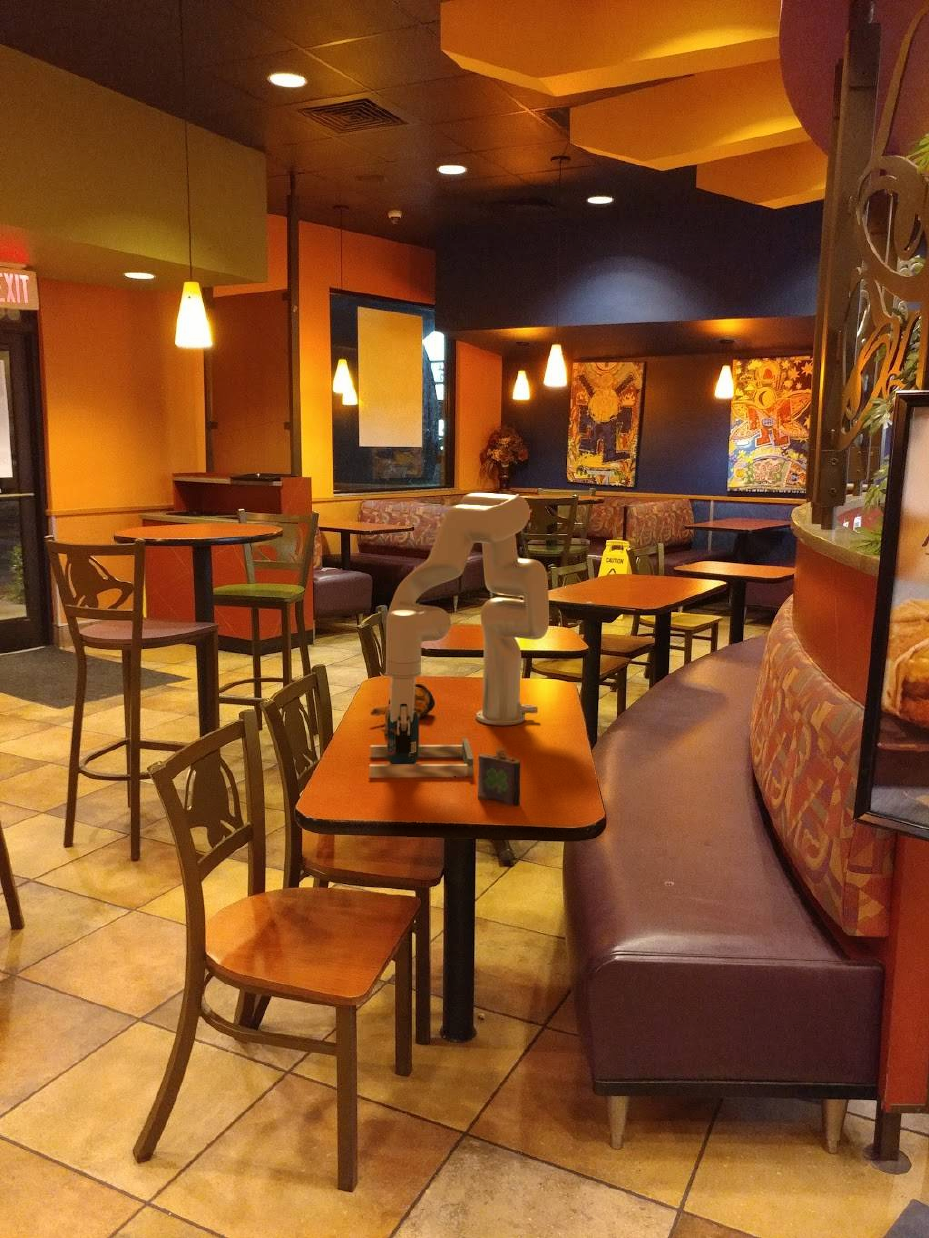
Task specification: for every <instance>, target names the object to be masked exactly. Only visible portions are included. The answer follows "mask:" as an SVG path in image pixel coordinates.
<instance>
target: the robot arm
mask: <svg viewBox="0 0 929 1238" xmlns="http://www.w3.org/2000/svg"><path fill="white" fill-rule="evenodd" d="M530 514H531V510H530V505H529V503H528V501H527V500H526V499H525V498H524V497H523V496H520V495H517V494H516V495H515V494H505V493H504V494H501V493H490V492H489V493H488V492H474V493H473V492H472V493H468V494H465V495H464V496H462V498H461V500H460V503H459V504H458V505H452V506H451V507H450V508H448V510H447V511H446V513H445V514H444V517H443V520H442V523H440V524H441V525H440V526H439V527H440V528H439V530H438V533H437V535H436V538H435V540H434V543H433V545H432V548H431V550H430V552H429V556H428V557H427V559H426V560H425V561H424V562H422V563H421V564H419V565H418V566H417V567H415V568H414V569H413V570H412V571H411V572H410V573H409V574H408V575H407V576H406V577H404V579H403V580H402V581H401V582H400V583H399V584H398V586H397V588H396V590H395V592H394V595H393V597H392V599H391V600H392V601H391V602H390V605H389V609H388V612H387V616H386V621H385V622H386V623H385V624H386V627H385V628H386V629H385V630H386V633H385V634H386V635H385V637H386V638H385V639H386V640H385V641H386V644H385V648H386V649H385V651H386V653H385V654H386V655H385V659H386V660H385V675H386V676H387V677H388V678H389V677H390V684H389V686H390V689H389V694H390V695H389V698H390V699H389V700H390V721H391V722H392V723H393V721H397V734H396V753H410V752H411V734H410V723H411V722H412V721H413V715H414V704H415V684H416V678H418V677H420V676H421V675H422V643H423V642H433V641H434V642H435V641H439V640H442V639H443V638H445V637H446V636H447V635H448V633H449V631H450V629H451V626H452V621H451V616H450V615H449V613H448V612H447V610H445V609H443V608H441V607H439V606H434V605H432V606H431V605H425V604H419V603H416V601H417V600H418V599H419V598H420V596H422V594H424V593H425V592H426V591H429V589H432V588H434V587H436V586H439V585H442V584H443V583H447V582H450V581H452V580H455V579H457V578H459V577H460V576H461V575H462V574H463V573H464V571H465V568H466V565H467V563H468V559H469V557H470V553H472V552H471V551H472V550H473V547H474V544H476V543H478V544H479V543H480V544H481V547H482V560H483V561H482V563H483V575H484V576H483V577H484V584H485V587H486V589H487V590H488V591H489V592H490V593H493V594H496V595H503V596H512V597H520V598H522V599H518V598H512V597H511V598H509V597H500V596H499V597H492V598H490V599H488V600H487V601H485V602H484V604H483V605H482V608H481V610H480V622H481V623H480V624H481V630H482V635H483V669H482V670H483V673H482V674H483V675H482V676H483V677H482V678H483V680H482V681H483V682H482V709H481V710H479V711H478V712H476V714H475V719H476V720H477V721H478V722H479V723H483V724H487V725H491V726H513V725H519V724H521V723H523V722H524V721H525V720H526V714H538V711H539V710H538V709H539V708H538V705H532V704H529V703H528V704H523V703H522V702H521V700H520V698H521V697H520V696H521V693H520V692H521V668H522V667H521V665H522V652H521V648H520V645H519V642H518V641H517V639H516V638H519V639H525V640H540V639H542V638H543V637H545V636H546V634H547V633H548V630H549V625H550V602H549V601H550V600H549V599H550V598H549V581H548V573H547V570H546V568H545V566H544V564H543V563H542V562H540V561H539V560H536V559H531V558H526V557H525V558H522V557H520V556H519V555H518V549H517V548H518V547H517V537H516V534H518V533H520V532H521V531H523V529H524V528H525V527H526V525H527V524H528V522H529V519H530ZM400 707H401V711H400ZM399 718H401V721H399ZM407 718H408V721H407ZM400 724H401V726H400Z"/></svg>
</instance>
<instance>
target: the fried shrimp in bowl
mask: <svg viewBox="0 0 929 1238" xmlns="http://www.w3.org/2000/svg"><path fill="white" fill-rule="evenodd" d="M435 705H436V702H435V698H434V697H433V694H432V692H431V691H430V690H429V689H428V688H427V687H426V686H425V685H424V684H422V683H415V704H414V708H415V709H416V710H417V713H418V714H420V716H419V719H420V718H421V717H425V716H427V715H428V714H429V713H430V712H431V711H432V710H433V709H434V707H435ZM389 707H390V699H389V700H388V704H387V705H381V706H378V707H376V708H372V709H371V711H370V716H375V717H377V716H381V715H383V716H385V713H386V710H387V709H388V708H389Z"/></svg>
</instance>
